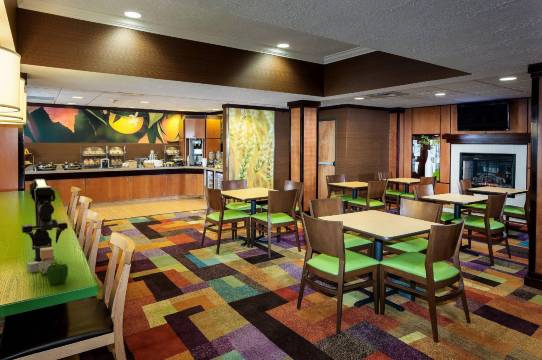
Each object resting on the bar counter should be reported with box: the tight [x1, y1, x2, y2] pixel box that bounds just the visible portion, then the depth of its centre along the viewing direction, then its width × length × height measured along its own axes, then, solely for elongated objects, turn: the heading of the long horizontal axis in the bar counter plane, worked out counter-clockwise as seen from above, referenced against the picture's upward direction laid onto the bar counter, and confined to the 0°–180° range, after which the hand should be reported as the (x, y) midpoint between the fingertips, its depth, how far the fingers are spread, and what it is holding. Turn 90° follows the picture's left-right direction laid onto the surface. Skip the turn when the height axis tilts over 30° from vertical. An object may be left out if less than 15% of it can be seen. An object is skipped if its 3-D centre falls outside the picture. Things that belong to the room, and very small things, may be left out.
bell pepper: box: [46, 261, 69, 286], centre depth 169 cm, size 8×8×10 cm
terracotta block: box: [40, 246, 55, 259], centre depth 181 cm, size 5×5×4 cm
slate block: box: [26, 261, 41, 273], centre depth 185 cm, size 4×4×4 cm
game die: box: [36, 256, 56, 275], centre depth 181 cm, size 9×8×10 cm
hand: (45, 244), depth 185 cm, fingers open, 9 cm apart
